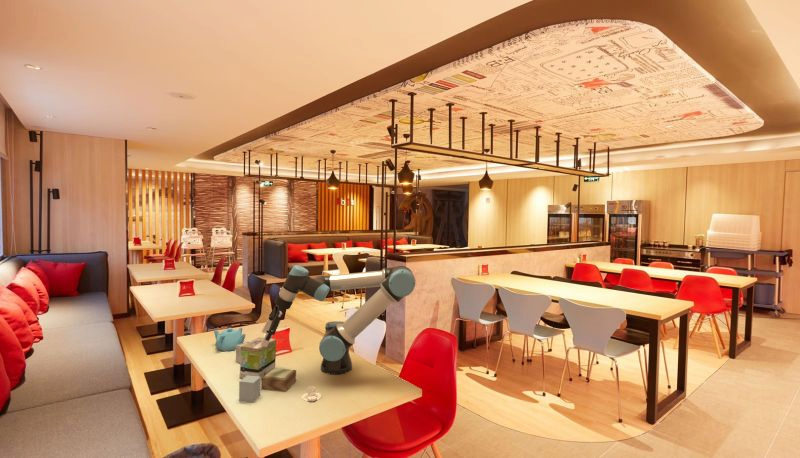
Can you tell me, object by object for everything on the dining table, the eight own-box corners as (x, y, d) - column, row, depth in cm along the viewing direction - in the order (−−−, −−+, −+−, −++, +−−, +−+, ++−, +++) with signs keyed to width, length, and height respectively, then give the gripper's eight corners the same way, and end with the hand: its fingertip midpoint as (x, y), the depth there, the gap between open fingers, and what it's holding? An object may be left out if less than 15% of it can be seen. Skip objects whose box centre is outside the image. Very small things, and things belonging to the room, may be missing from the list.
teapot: (213, 345, 225) (213, 326, 224) (242, 341, 232) (242, 323, 232) (215, 354, 212) (215, 333, 211) (245, 350, 219) (246, 330, 218)
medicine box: (241, 364, 199) (241, 346, 199) (235, 361, 201) (235, 344, 201) (254, 359, 206) (254, 342, 205) (248, 357, 208) (249, 340, 208)
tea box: (259, 380, 180) (259, 348, 180) (239, 378, 182) (239, 346, 182) (276, 368, 195) (276, 338, 194) (257, 366, 197) (257, 336, 196)
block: (260, 395, 166) (260, 376, 166) (253, 402, 160) (253, 382, 160) (246, 394, 167) (247, 375, 167) (239, 400, 161) (239, 381, 161)
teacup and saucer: (316, 404, 161) (316, 394, 161) (297, 401, 163) (297, 392, 162) (323, 394, 170) (324, 385, 170) (306, 392, 171) (306, 383, 171)
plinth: (295, 381, 181) (296, 369, 181) (285, 391, 170) (285, 379, 170) (272, 378, 183) (273, 367, 183) (261, 389, 172) (261, 376, 172)
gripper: (277, 285, 191) (257, 324, 192) (278, 304, 168) (254, 348, 168) (292, 291, 194) (271, 330, 194) (294, 311, 171) (271, 354, 171)
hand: (263, 339), depth 181 cm, fingers open, 13 cm apart
